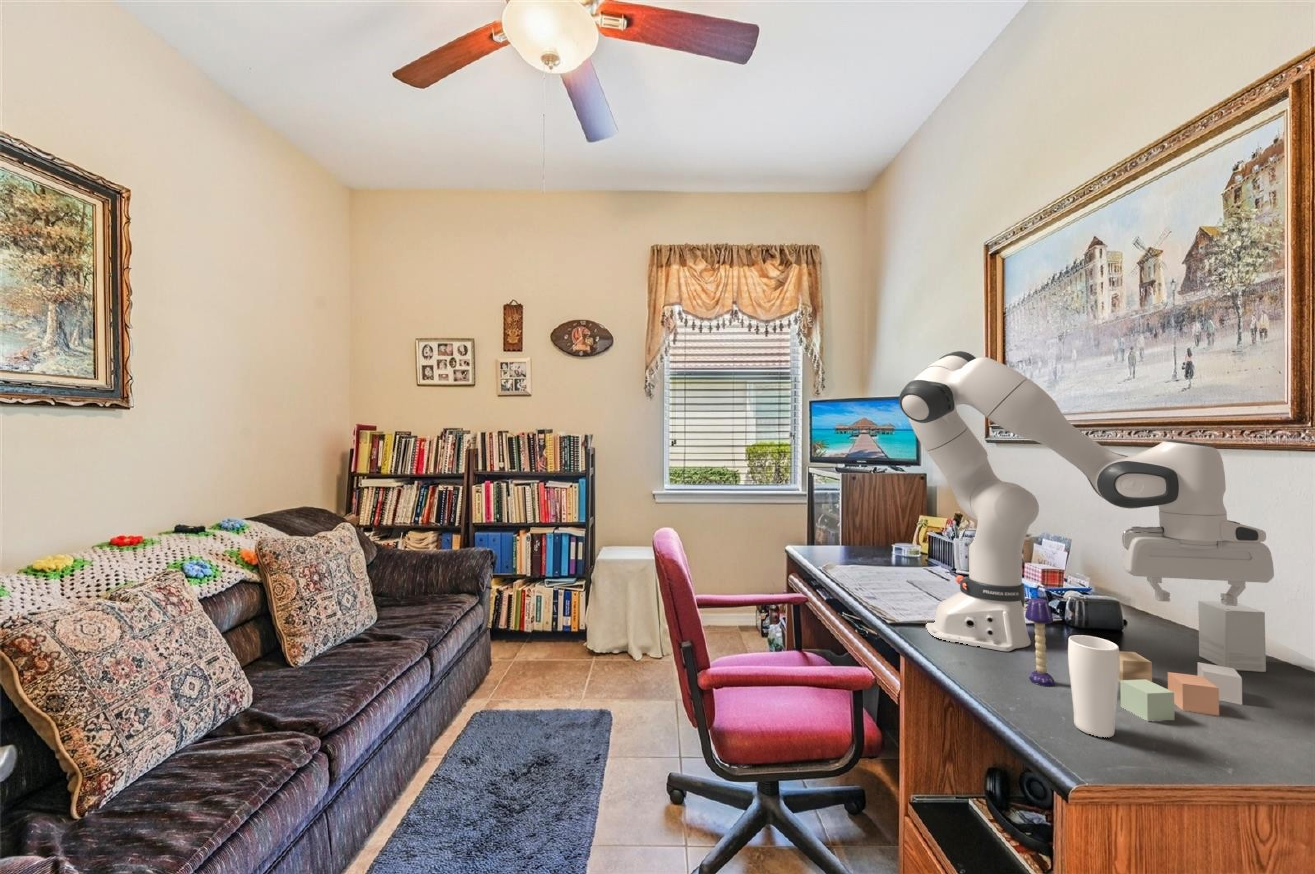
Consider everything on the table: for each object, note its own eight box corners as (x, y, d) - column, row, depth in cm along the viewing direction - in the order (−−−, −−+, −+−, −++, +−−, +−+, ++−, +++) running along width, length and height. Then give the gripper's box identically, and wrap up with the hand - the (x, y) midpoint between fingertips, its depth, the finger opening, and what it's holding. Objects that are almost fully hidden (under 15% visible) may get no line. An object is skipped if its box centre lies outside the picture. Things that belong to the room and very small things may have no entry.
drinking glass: (1058, 721, 93) (1057, 635, 93) (1094, 718, 93) (1093, 633, 93) (1093, 743, 86) (1092, 651, 86) (1131, 740, 86) (1130, 649, 86)
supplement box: (1267, 672, 110) (1267, 612, 110) (1225, 670, 112) (1224, 610, 112) (1236, 658, 118) (1236, 601, 118) (1197, 655, 119) (1196, 599, 119)
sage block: (1147, 722, 92) (1147, 693, 92) (1120, 707, 97) (1120, 680, 97) (1174, 721, 92) (1174, 692, 92) (1146, 706, 97) (1145, 679, 97)
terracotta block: (1182, 711, 96) (1182, 683, 96) (1167, 698, 100) (1167, 672, 100) (1219, 716, 94) (1218, 688, 94) (1202, 703, 99) (1202, 676, 99)
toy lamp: (1046, 689, 104) (1045, 604, 104) (1020, 679, 108) (1020, 598, 108) (1059, 683, 106) (1058, 601, 106) (1033, 674, 111) (1033, 594, 111)
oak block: (1122, 685, 106) (1122, 660, 106) (1107, 674, 111) (1106, 650, 111) (1152, 687, 105) (1151, 662, 105) (1134, 676, 110) (1134, 652, 110)
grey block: (1203, 697, 101) (1203, 671, 101) (1197, 687, 105) (1197, 662, 105) (1242, 705, 98) (1241, 678, 98) (1234, 694, 102) (1234, 668, 102)
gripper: (1129, 528, 98) (1132, 603, 98) (1278, 532, 91) (1282, 612, 91) (1114, 523, 104) (1117, 593, 104) (1253, 526, 97) (1256, 602, 97)
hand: (1195, 602), depth 97 cm, fingers open, 8 cm apart
